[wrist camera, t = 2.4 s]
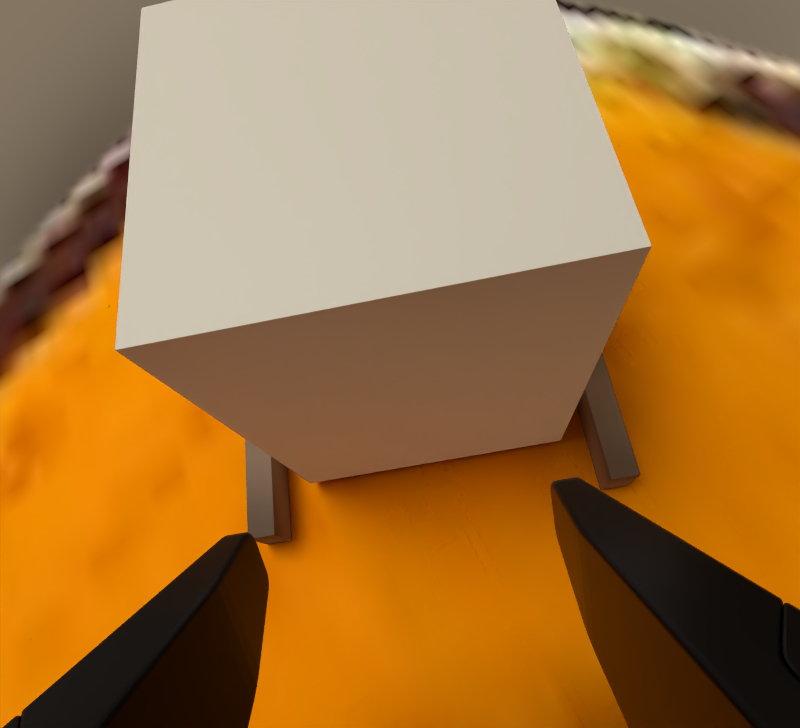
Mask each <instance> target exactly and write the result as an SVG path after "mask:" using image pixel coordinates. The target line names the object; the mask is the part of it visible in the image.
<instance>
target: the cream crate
mask: <svg viewBox="0 0 800 728" xmlns="http://www.w3.org/2000/svg"><path fill="white" fill-rule="evenodd" d="M650 248H651V244H650V241H649V238H648V236H647V233H646V231H645V228H644V226H643V223H642V220H641V218H640V215H639V213H638V210H637V208H636V205H635V202H634V200H633V197H632V195H631V192H630V190H629V187H628V185H627V182H626V179H625V177H624V174H623V172H622V169H621V167H620V164H619V161H618V159H617V156H616V154H615V151H614V149H613V146H612V143H611V141H610V138H609V136H608V133H607V131H606V128H605V126H604V123H603V120H602V118H601V115H600V113H599V110H598V108H597V105H596V102H595V100H594V97H593V95H592V92H591V90H590V87H589V84H588V82H587V79H586V77H585V74H584V72H583V69H582V67H581V64H580V61H579V59H578V56H577V54H576V51H575V49H574V46H573V43H572V41H571V38H570V36H569V33H568V31H567V28H566V25H565V23H564V20H563V18H562V15H561V13H560V10H559V8H558V5H557V2H556V0H173V1H169V2H165V3H161V4H157V5H153V6H148V7H144V8H142V10H141V23H140V36H139V49H138V62H137V75H136V88H135V100H134V113H133V126H132V138H131V151H130V164H129V177H128V190H127V202H126V215H125V228H124V241H123V254H122V267H121V279H120V292H119V305H118V318H117V331H116V344H115V350H116V351H117V352H119V353H120V354H122V355H123V356H125V357H126V358H127V359H129V360H130V361H132V362H133V363H135V364H136V365H138V366H139V367H141V368H142V369H144V370H145V371H147V372H148V373H150V374H151V375H152V376H154V377H155V378H157V379H158V380H160V381H161V382H163V383H164V384H166V385H167V386H169V387H170V388H172V389H173V390H174V391H176V392H177V393H179V394H180V395H182V396H183V397H185V398H186V399H188V400H189V401H191V402H192V403H194V404H195V405H197V406H198V407H199V408H201V409H202V410H204V411H205V412H207V413H208V414H210V415H211V416H213V417H214V418H216V419H217V420H219V421H220V422H221V423H223V424H224V425H226V426H227V427H229V428H230V429H232V430H233V431H235V432H236V433H238V434H239V435H241V436H242V437H244V438H245V439H246V440H248V441H249V442H251V443H252V444H254V445H255V446H257V447H258V448H260V449H261V450H263V451H264V452H266V453H267V454H268V455H270V456H271V457H273V458H274V459H276V460H277V461H279V462H280V463H282V464H283V465H285V466H286V467H288V468H289V469H291V470H292V471H293V472H295V473H296V474H298V475H299V476H301V477H302V478H304V479H305V480H307V481H308V482H310V483H315V482H321V481H326V480H332V479H338V478H344V477H350V476H356V475H362V474H367V473H373V472H379V471H385V470H391V469H397V468H403V467H408V466H414V465H420V464H426V463H432V462H438V461H444V460H449V459H455V458H461V457H467V456H473V455H479V454H485V453H490V452H496V451H502V450H508V449H514V448H520V447H526V446H531V445H537V444H543V443H549V442H555V441H561V439H562V437H563V434H564V432H565V430H566V428H567V426H568V424H569V422H570V419H571V417H572V415H573V413H574V411H575V409H576V407H577V404H578V402H579V400H580V398H581V396H582V394H583V392H584V390H585V387H586V385H587V383H588V381H589V379H590V377H591V375H592V372H593V370H594V368H595V366H596V364H597V362H598V360H599V357H600V355H601V353H602V351H603V349H604V347H605V345H606V342H607V340H608V338H609V336H610V334H611V332H612V330H613V327H614V325H615V323H616V321H617V319H618V317H619V315H620V313H621V310H622V308H623V306H624V304H625V302H626V300H627V298H628V295H629V293H630V291H631V289H632V287H633V285H634V283H635V280H636V278H637V276H638V274H639V272H640V270H641V268H642V265H643V263H644V261H645V259H646V257H647V255H648V253H649V250H650Z"/></svg>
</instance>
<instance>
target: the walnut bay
mask: <svg viewBox="0 0 800 728" xmlns="http://www.w3.org/2000/svg"><path fill="white" fill-rule="evenodd" d="M577 408H578V412H579V415H580V419H581V422H582V426H583V429H584V433H585V436H586V440H587V443H588V447H589V450H590V454H591V457H592V461H593V465H594V468H595V472H596V475H597V479H598V482H599V486H600V489H601V490H603V489H609V488H615V487H621V486H627V485H628V484H630V483H631V482H632V481H633V480H634V479H636V478H637V477H638V476H639V475H640V472H639V468H638V465H637V462H636V459H635V456H634V453H633V449H632V446H631V443H630V440H629V437H628V434H627V430H626V427H625V424H624V421H623V418H622V415H621V411H620V408H619V405H618V402H617V399H616V396H615V393H614V389H613V386H612V383H611V380H610V377H609V374H608V370H607V367H606V364H605V361H604V358H603V355H602V353H601V355H600V357H599V360H598V362H597V364H596V366H595V368H594V370H593V372H592V375H591V377H590V379H589V381H588V383H587V385H586V387H585V390H584V392H583V394H582V396H581V398H580V400H579V402H578V404H577ZM245 444H246V483H247V521H248V533H250V534H252V535H253V537H254V538H255V540H256V541H257V542H260V543H264V544H273V543H279V542H285V541H291V540H292V539H291V521H290V503H289V486H288V468H287V467H286V466H285V465H283V464H282V463H280V462H279V461H277V460H276V459H274V458H273V457H271V456H270V455H268V454H267V453H266V452H264V451H263V450H261V449H260V448H258V447H257V446H255V445H254V444H252V443H251V442H249V441H248V440H246V439H245Z"/></svg>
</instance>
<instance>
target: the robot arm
mask: <svg viewBox="0 0 800 728" xmlns="http://www.w3.org/2000/svg"><path fill="white" fill-rule="evenodd" d="M551 497H552V505H553V514H554V522H555V529H556V535H557V539H558V542H559V546H560V549H561V552H562V555H563V558H564V562H565V565H566V568H567V571H568V574H569V578H570V581H571V584H572V587H573V590H574V594H575V597H576V600H577V603H578V606H579V610H580V613H581V616H582V619H583V622H584V625H585V628H586V631H587V634H588V636H589V639H590V641H591V644H592V646H593V649H594V651H595V653H596V656H597V658H598V660H599V662H600V665H601V667H602V669H603V671H604V674H605V676H606V678H607V680H608V682H609V685H610V687H611V689H612V691H613V694H614V696H615V698H616V700H617V703H618V705H619V707H620V709H621V712H622V714H623V716H624V718H625V720H626V723H627V725H628V727H629V728H800V610H799V609H798V608H796V607H794V606H793V605H791V604H789V603H784V604H783V601H782V600H781V599H780V598H779V597H777V596H776V595H774V594H772V593H771V592H769V591H767V590H766V589H764V588H762V587H761V586H759V585H757V584H756V583H754V582H752V581H751V580H749V579H747V578H746V577H744V576H742V575H741V574H739V573H737V572H736V571H734V570H732V569H731V568H729V567H727V566H726V565H724V564H722V563H721V562H719V561H717V560H716V559H714V558H712V557H711V556H709V555H707V554H706V553H704V552H702V551H701V550H699V549H697V548H696V547H694V546H692V545H691V544H689V543H687V542H686V541H684V540H682V539H681V538H679V537H677V536H676V535H674V534H672V533H671V532H669V531H667V530H666V529H664V528H662V527H661V526H659V525H657V524H656V523H654V522H652V521H651V520H649V519H647V518H646V517H644V516H642V515H641V514H639V513H637V512H636V511H634V510H632V509H631V508H629V507H627V506H625V505H624V504H622V503H620V502H619V501H617V500H615V499H614V498H612V497H610V496H609V495H607V494H605V493H604V492H602V491H600V490H599V489H597V488H595V487H594V486H592V485H590V484H589V483H587V482H585V481H584V480H582V479H580V478H577V477H575V478H569V479H563V480H557V481H553V482H552V484H551ZM268 591H269V580H268V574H267V571H266V568H265V565H264V563H263V560H262V557H261V554H260V551H259V549H258V546H257V543H256V540H255V538H254V537H253V535H252V534H250V533H248V532H246V533H240V534H233V535H228V536H225V537H223V538H222V539H220V540H219V541H218V542H217V543H216V544H215V545H214V546H212V547H211V548H210V549H209V550H208V551H207V552H205V553H204V554H203V555H202V556H201V557H200V558H199V559H197V560H196V561H195V562H194V563H193V564H192V565H190V566H189V567H188V568H187V569H186V570H185V571H183V572H182V573H181V574H180V575H179V576H178V577H177V578H175V579H174V580H173V581H172V582H171V583H170V584H168V585H167V586H166V587H165V588H164V589H163V590H161V591H160V592H159V593H158V594H157V595H156V596H155V597H153V598H152V599H151V600H150V601H149V602H148V603H146V604H145V605H144V606H143V607H142V608H141V609H139V610H138V611H137V612H136V613H135V614H134V615H133V616H131V617H130V618H129V619H128V620H127V621H126V622H124V623H123V624H122V625H121V626H120V627H119V628H118V629H116V630H115V631H114V632H113V633H112V634H111V635H109V636H108V637H107V638H106V639H105V640H104V641H102V642H101V643H100V644H99V645H98V646H97V647H96V648H94V649H93V650H92V651H91V652H90V653H89V654H87V655H86V656H85V657H84V658H83V659H82V660H80V661H79V662H78V663H77V664H76V665H75V666H74V667H72V668H71V669H70V670H69V671H68V672H67V673H65V674H64V675H63V676H62V677H61V678H60V679H59V680H57V681H56V682H55V683H54V684H53V685H52V686H50V687H49V688H48V689H47V690H46V691H45V692H43V693H42V694H41V695H40V696H39V697H38V698H37V699H35V700H34V701H33V702H32V703H31V704H30V705H28V706H27V707H26V708H25V709H24V710H23V711H22V714H21V716H16V717H14V718H13V719H12V720H11V721H10V722H9V723H7V724H6V725H5V726H4V727H3V728H248V725H249V720H250V716H251V712H252V707H253V703H254V698H255V693H256V688H257V682H258V675H259V668H260V659H261V651H262V642H263V633H264V625H265V616H266V608H267V599H268Z"/></svg>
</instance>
